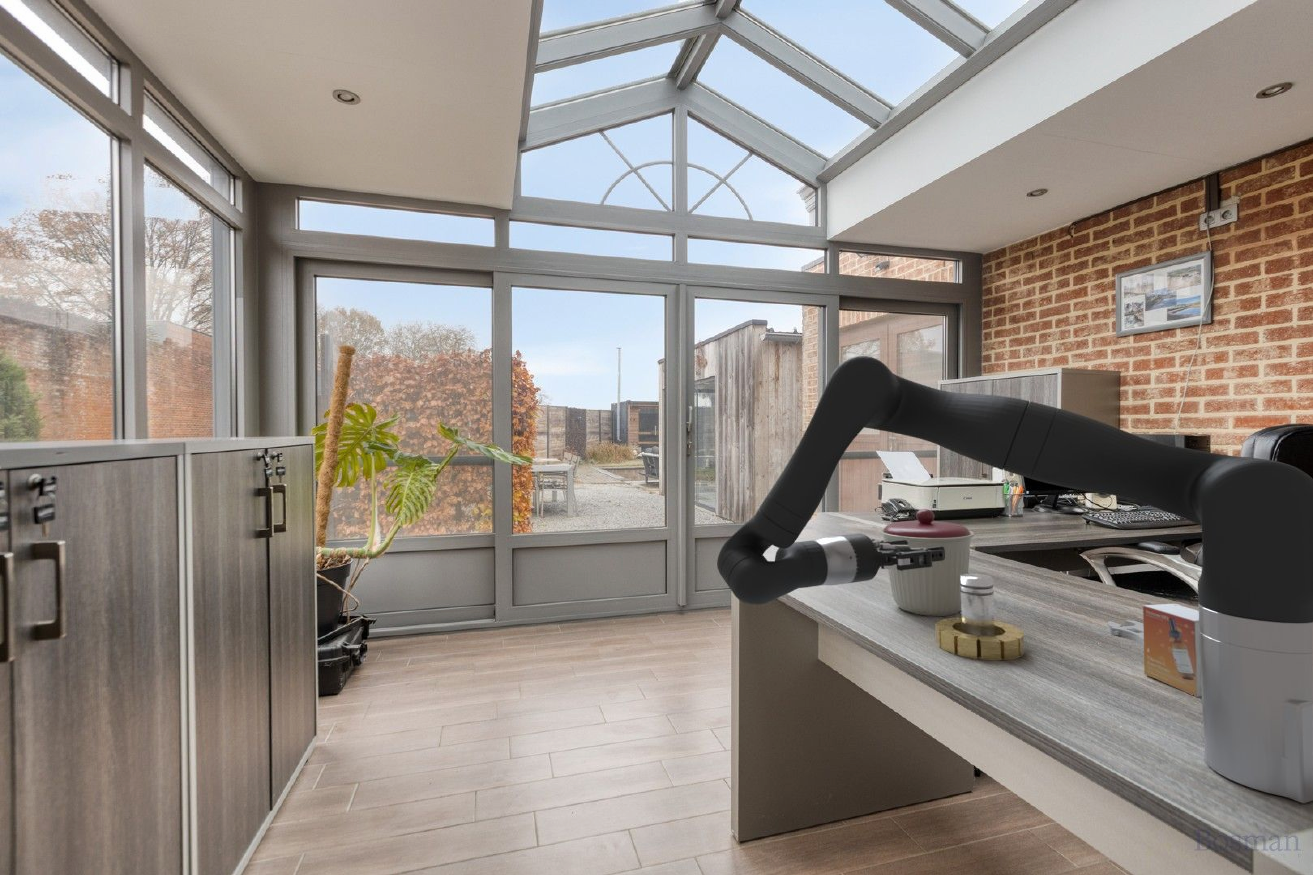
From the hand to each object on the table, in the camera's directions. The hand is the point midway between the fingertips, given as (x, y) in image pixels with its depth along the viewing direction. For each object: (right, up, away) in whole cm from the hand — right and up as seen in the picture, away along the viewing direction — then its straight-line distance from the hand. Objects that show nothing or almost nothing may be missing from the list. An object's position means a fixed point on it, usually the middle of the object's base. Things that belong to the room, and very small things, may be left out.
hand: (924, 549), depth 100 cm
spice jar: (+11, -17, +3) cm, 21 cm away
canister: (+12, -18, +26) cm, 34 cm away
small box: (+31, -17, -15) cm, 38 cm away
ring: (+11, -17, +3) cm, 21 cm away
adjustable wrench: (+38, -17, -1) cm, 41 cm away
